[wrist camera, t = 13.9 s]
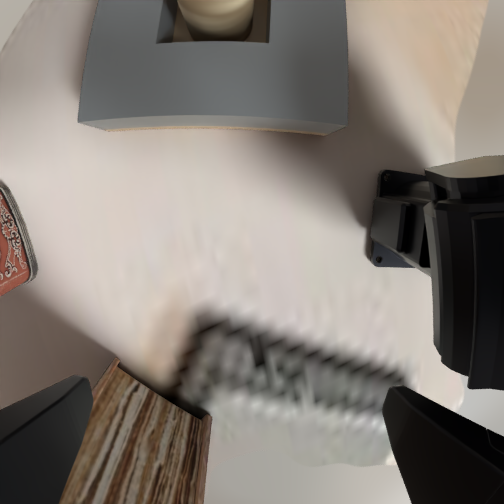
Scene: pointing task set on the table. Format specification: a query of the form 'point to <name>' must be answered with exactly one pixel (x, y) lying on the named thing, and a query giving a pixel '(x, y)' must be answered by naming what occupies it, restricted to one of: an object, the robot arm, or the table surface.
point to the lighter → (14, 245)
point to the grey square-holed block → (217, 70)
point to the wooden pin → (218, 19)
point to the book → (138, 448)
